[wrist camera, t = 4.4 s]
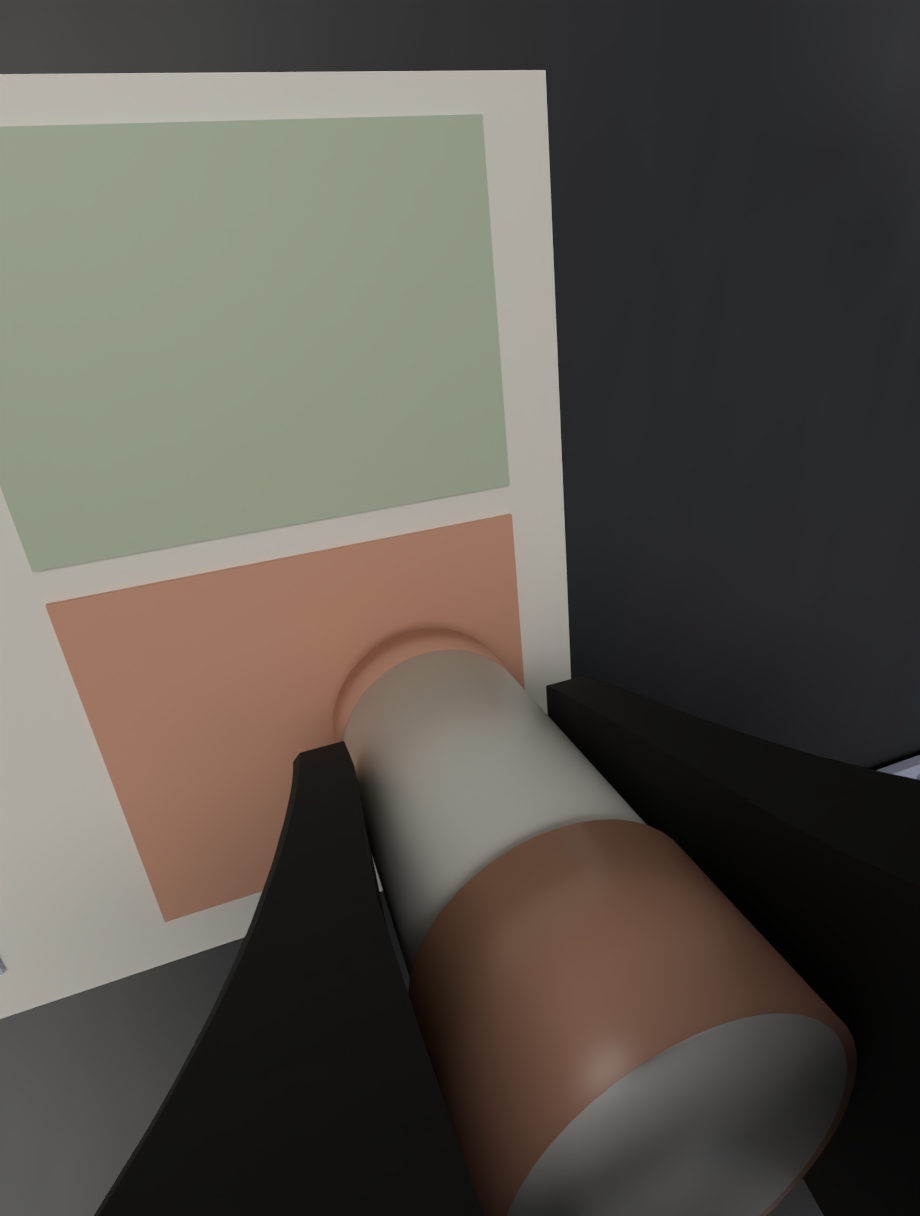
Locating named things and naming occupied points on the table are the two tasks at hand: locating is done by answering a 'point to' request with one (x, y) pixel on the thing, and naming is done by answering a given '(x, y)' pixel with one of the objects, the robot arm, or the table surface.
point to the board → (249, 464)
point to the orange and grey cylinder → (576, 962)
